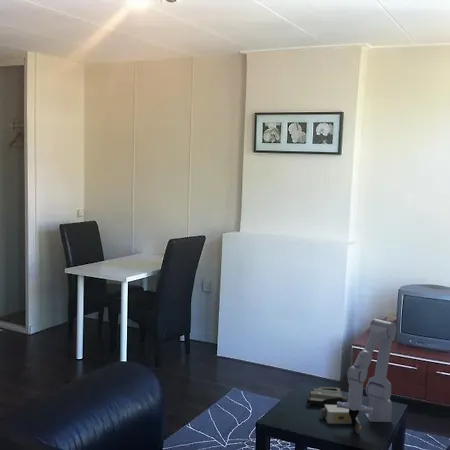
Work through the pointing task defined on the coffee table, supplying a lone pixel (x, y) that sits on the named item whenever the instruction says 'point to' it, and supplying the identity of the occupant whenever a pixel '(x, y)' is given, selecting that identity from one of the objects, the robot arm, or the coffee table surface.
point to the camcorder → (326, 396)
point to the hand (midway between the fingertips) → (353, 426)
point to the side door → (357, 425)
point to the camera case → (336, 414)
